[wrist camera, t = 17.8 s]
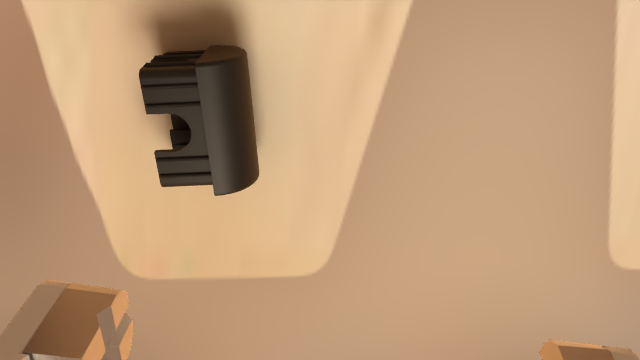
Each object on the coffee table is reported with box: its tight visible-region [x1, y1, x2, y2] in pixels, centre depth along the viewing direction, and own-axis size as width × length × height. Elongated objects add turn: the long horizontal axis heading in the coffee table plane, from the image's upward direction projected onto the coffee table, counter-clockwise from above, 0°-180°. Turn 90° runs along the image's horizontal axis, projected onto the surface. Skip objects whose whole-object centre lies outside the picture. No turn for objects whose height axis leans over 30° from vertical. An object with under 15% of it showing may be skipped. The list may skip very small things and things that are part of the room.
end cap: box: [139, 45, 259, 196], centre depth 38 cm, size 10×7×7 cm
